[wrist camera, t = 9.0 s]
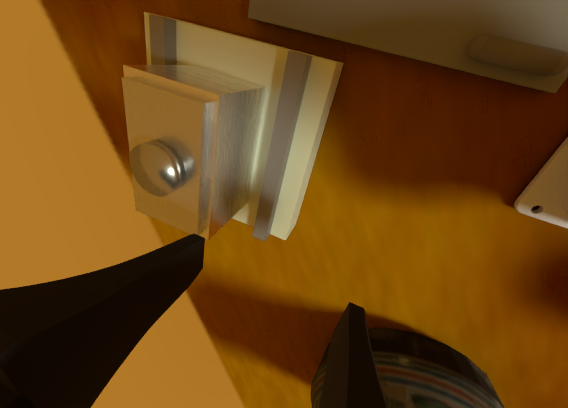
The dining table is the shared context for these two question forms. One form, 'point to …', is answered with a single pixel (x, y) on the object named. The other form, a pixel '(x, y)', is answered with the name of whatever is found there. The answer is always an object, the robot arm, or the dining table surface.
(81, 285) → the robot arm
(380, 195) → the dining table surface
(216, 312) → the dining table surface
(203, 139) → the housing
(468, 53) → the mat
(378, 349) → the beer stein
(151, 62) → the stand
